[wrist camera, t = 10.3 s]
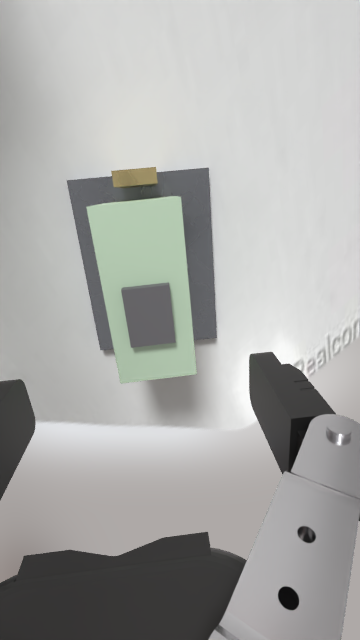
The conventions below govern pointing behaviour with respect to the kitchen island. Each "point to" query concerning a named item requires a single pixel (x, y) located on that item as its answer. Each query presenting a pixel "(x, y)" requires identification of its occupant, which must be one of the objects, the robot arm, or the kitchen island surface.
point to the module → (145, 286)
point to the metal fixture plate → (196, 234)
